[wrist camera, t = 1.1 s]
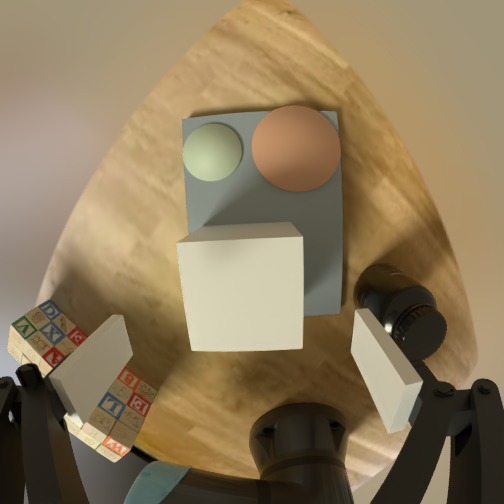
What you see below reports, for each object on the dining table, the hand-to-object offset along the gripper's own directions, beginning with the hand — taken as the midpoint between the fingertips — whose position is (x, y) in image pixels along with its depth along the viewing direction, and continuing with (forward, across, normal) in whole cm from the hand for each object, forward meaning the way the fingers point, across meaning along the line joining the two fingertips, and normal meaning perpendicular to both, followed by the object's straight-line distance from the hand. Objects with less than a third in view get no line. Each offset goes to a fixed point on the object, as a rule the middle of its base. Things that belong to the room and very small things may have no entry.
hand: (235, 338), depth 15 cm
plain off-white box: (+15, 0, 0) cm, 15 cm away
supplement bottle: (+16, -15, +4) cm, 23 cm away
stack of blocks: (+16, +24, +14) cm, 32 cm away
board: (+16, -2, -5) cm, 17 cm away
